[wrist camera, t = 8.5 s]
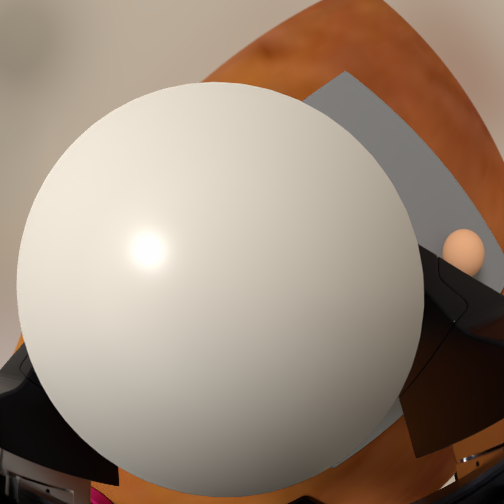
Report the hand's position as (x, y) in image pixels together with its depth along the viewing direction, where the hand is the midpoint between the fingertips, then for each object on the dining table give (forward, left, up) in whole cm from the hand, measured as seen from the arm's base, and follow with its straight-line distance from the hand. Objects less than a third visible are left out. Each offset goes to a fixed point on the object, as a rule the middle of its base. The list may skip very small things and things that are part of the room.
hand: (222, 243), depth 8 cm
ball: (-9, -10, -6) cm, 14 cm away
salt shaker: (-1, +1, -6) cm, 6 cm away
